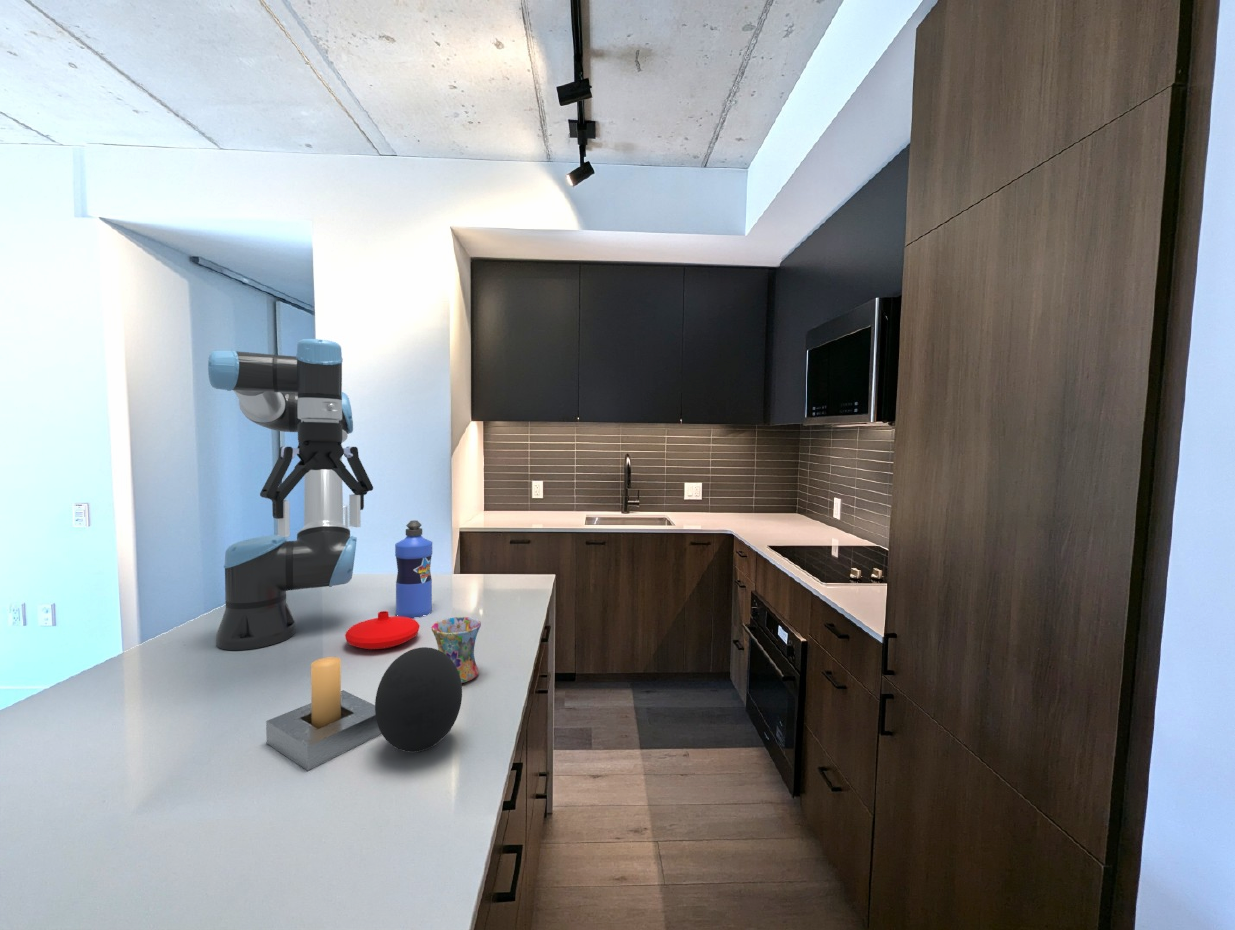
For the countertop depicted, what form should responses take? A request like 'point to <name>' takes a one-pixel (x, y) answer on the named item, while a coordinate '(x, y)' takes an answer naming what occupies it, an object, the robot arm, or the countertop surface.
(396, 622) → the red pot lid
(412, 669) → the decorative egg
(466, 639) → the mug
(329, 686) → the orange cylindrical peg
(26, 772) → the countertop surface
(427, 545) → the water bottle
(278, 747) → the grey peg socket
